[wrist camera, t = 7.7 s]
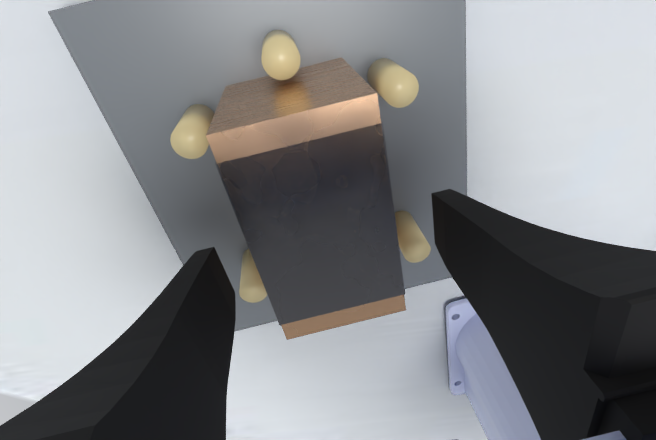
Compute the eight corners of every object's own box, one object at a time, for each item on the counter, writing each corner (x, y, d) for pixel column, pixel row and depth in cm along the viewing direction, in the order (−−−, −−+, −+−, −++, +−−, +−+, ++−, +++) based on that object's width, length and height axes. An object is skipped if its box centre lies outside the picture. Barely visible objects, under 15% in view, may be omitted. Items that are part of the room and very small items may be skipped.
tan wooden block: (372, 228, 19) (407, 309, 14) (281, 251, 19) (285, 339, 14) (343, 57, 14) (378, 92, 10) (224, 86, 14) (203, 135, 10)
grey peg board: (458, 260, 22) (489, 305, 19) (222, 318, 22) (215, 373, 19) (450, -86, 14) (504, -106, 10) (64, 9, 14) (3, 17, 10)
